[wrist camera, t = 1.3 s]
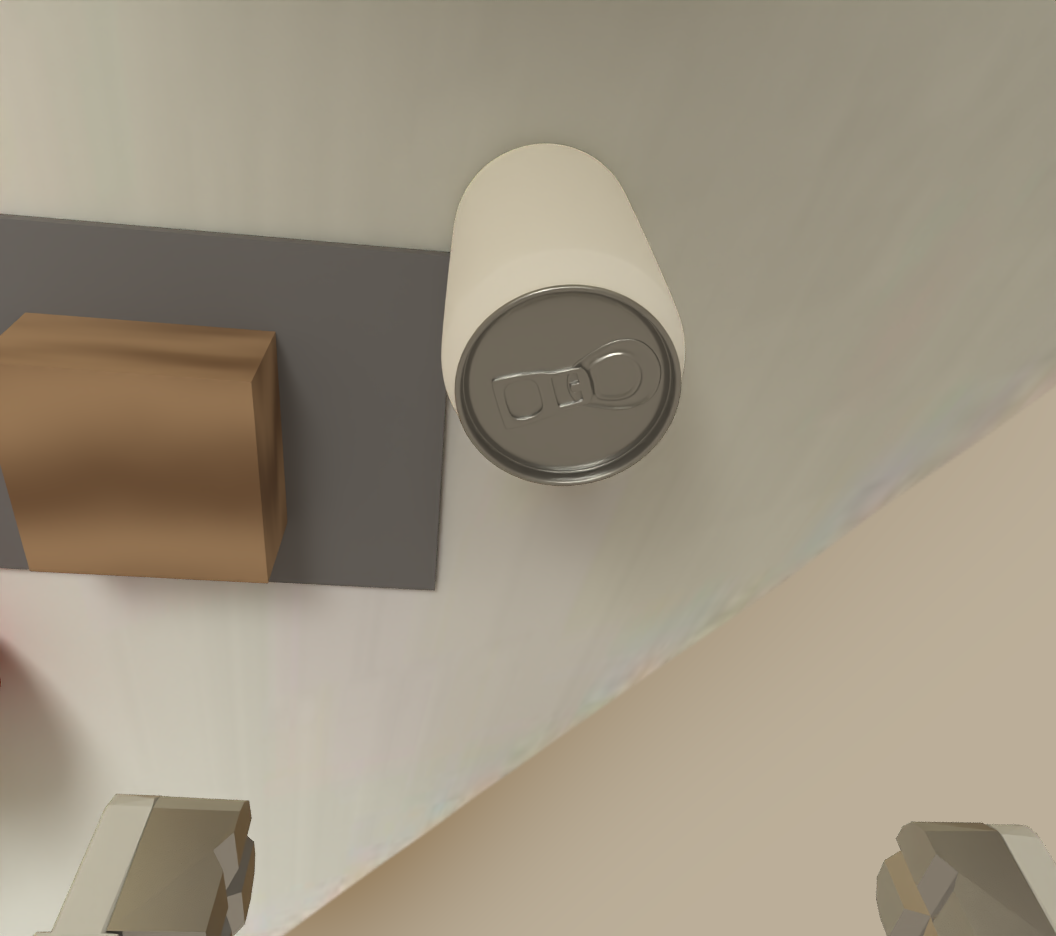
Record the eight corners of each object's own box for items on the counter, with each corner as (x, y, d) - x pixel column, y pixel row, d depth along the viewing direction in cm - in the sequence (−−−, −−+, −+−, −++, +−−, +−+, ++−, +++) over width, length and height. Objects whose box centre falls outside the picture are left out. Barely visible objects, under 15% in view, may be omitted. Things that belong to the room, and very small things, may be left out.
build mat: (-191, 197, 30) (-198, 201, 29) (454, 252, 32) (453, 256, 31) (-63, 558, 39) (-68, 564, 38) (435, 584, 40) (434, 590, 40)
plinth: (25, 312, 32) (-29, 362, 29) (275, 331, 33) (251, 381, 29) (71, 509, 37) (29, 570, 34) (287, 521, 38) (267, 583, 34)
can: (646, 292, 33) (714, 470, 23) (480, 333, 34) (477, 522, 24) (614, 117, 29) (679, 237, 19) (430, 166, 30) (401, 305, 20)
